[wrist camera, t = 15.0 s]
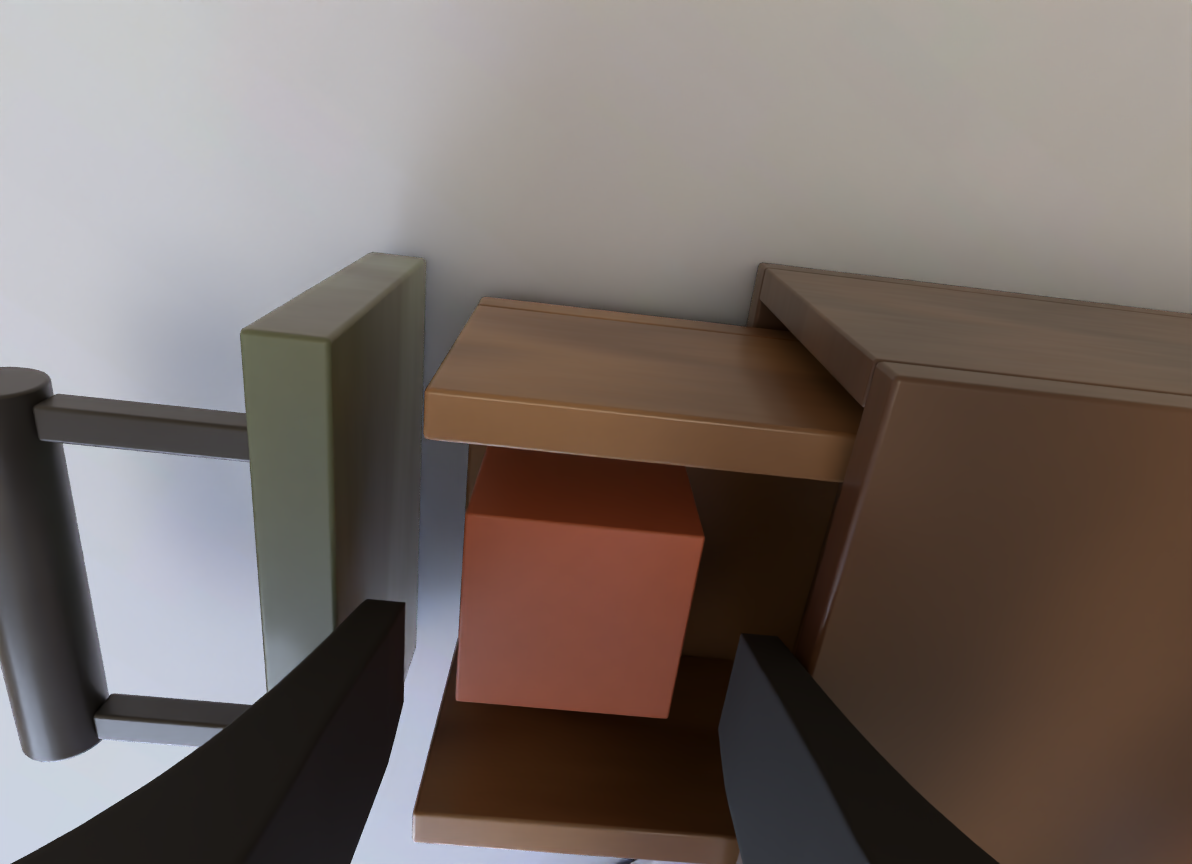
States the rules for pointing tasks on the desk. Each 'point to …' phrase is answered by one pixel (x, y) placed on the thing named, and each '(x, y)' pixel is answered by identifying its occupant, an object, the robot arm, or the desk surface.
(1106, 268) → the desk surface
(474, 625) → the block
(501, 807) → the drawer
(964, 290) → the cabinet
